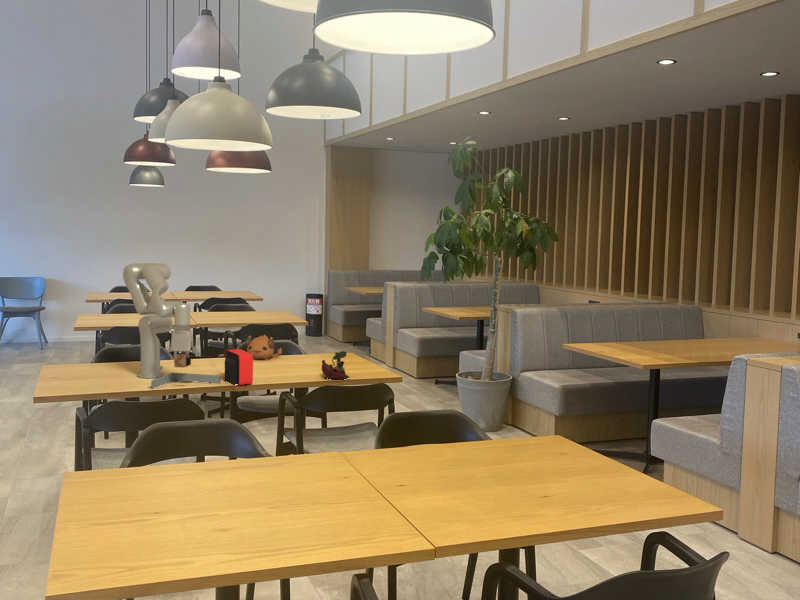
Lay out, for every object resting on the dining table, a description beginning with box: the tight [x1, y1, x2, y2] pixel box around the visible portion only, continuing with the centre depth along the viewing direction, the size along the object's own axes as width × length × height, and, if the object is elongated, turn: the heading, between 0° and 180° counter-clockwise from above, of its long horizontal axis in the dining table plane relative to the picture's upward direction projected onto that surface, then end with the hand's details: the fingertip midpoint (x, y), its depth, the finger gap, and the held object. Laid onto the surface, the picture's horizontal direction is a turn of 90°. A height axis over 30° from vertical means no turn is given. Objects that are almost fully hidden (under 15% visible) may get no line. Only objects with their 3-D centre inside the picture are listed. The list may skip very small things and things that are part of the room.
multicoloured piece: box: [321, 350, 350, 380], centre depth 402 cm, size 14×15×15 cm
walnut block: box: [173, 352, 192, 368], centre depth 378 cm, size 5×8×6 cm, turn 170°
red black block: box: [224, 348, 254, 386], centre depth 386 cm, size 10×20×16 cm, turn 33°
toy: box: [244, 334, 283, 361], centre depth 455 cm, size 19×17×15 cm
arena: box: [150, 372, 222, 388], centre depth 375 cm, size 22×26×4 cm
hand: (182, 364), depth 378 cm, fingers closed on walnut block, 5 cm apart
